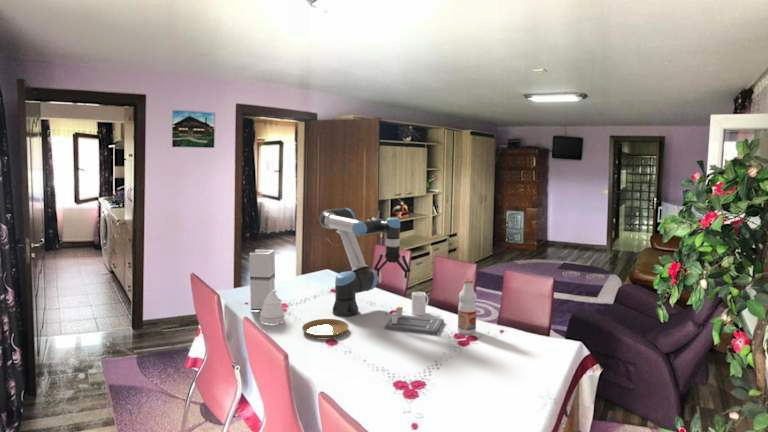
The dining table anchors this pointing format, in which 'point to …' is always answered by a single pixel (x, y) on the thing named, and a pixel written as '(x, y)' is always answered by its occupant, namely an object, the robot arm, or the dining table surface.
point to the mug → (419, 303)
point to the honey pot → (272, 309)
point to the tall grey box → (261, 276)
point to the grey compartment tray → (416, 325)
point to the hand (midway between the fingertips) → (391, 283)
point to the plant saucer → (337, 325)
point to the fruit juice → (467, 309)
